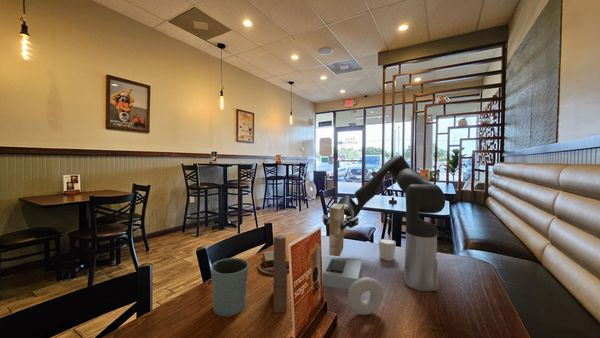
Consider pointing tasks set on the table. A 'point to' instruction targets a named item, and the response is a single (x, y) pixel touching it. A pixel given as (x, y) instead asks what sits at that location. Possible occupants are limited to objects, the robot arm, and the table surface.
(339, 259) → the slotted base
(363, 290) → the donut
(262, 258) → the toy sandwich meal
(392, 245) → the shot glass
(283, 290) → the wooden block
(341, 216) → the plank
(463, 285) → the table surface
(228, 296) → the grey-blue cup
